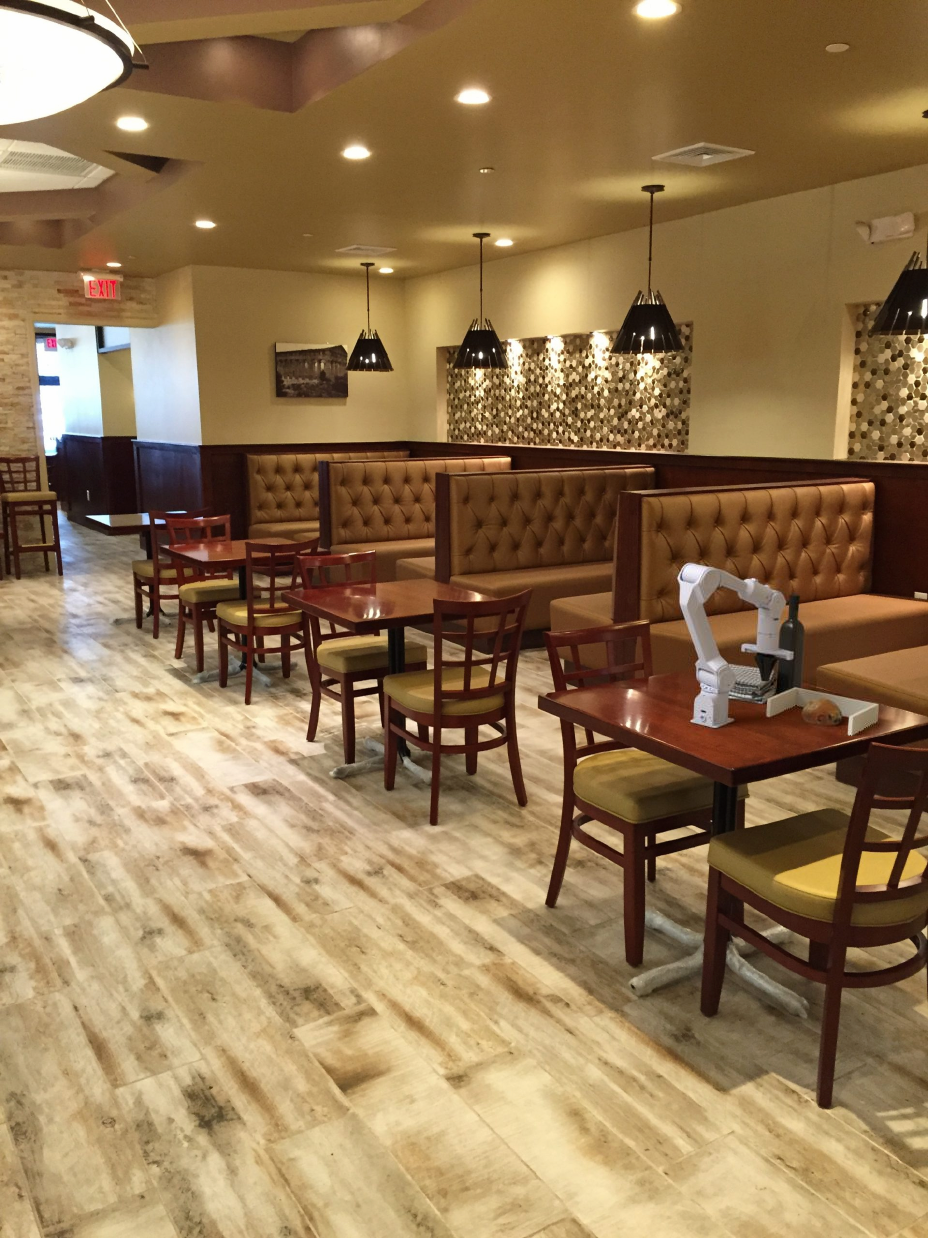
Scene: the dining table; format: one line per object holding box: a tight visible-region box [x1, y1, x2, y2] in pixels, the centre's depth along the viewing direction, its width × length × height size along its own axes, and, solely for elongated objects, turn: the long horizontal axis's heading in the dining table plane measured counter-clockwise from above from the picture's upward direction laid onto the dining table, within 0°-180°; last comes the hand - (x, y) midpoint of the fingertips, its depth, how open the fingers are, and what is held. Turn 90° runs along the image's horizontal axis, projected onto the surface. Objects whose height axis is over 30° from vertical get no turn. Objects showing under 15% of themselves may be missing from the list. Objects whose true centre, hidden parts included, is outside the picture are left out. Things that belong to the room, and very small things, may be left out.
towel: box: [728, 663, 777, 705], centre depth 293 cm, size 15×18×8 cm
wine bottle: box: [775, 593, 806, 695], centre depth 291 cm, size 6×6×30 cm
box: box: [766, 687, 880, 737], centre depth 270 cm, size 16×24×5 cm, turn 45°
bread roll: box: [801, 698, 843, 727], centre depth 269 cm, size 10×10×8 cm
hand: (765, 680), depth 274 cm, fingers closed
